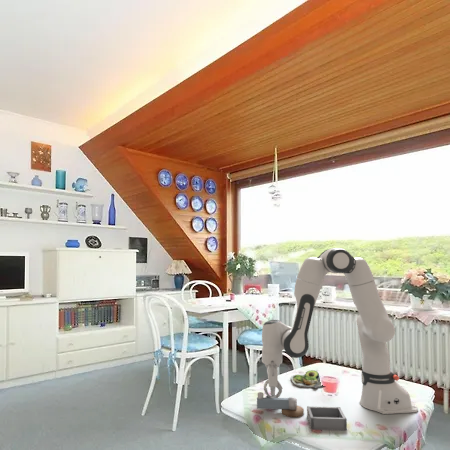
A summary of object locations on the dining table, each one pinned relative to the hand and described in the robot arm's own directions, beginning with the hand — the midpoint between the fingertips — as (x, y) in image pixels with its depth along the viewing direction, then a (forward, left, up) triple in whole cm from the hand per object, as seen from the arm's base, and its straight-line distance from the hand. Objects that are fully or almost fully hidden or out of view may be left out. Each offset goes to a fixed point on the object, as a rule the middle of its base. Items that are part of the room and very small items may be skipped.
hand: (272, 390), depth 166 cm
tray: (-20, +16, -6) cm, 26 cm away
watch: (0, 0, -6) cm, 6 cm away
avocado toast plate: (-20, -31, -7) cm, 37 cm away
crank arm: (-1, +7, -4) cm, 9 cm away
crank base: (-8, +7, -6) cm, 12 cm away
